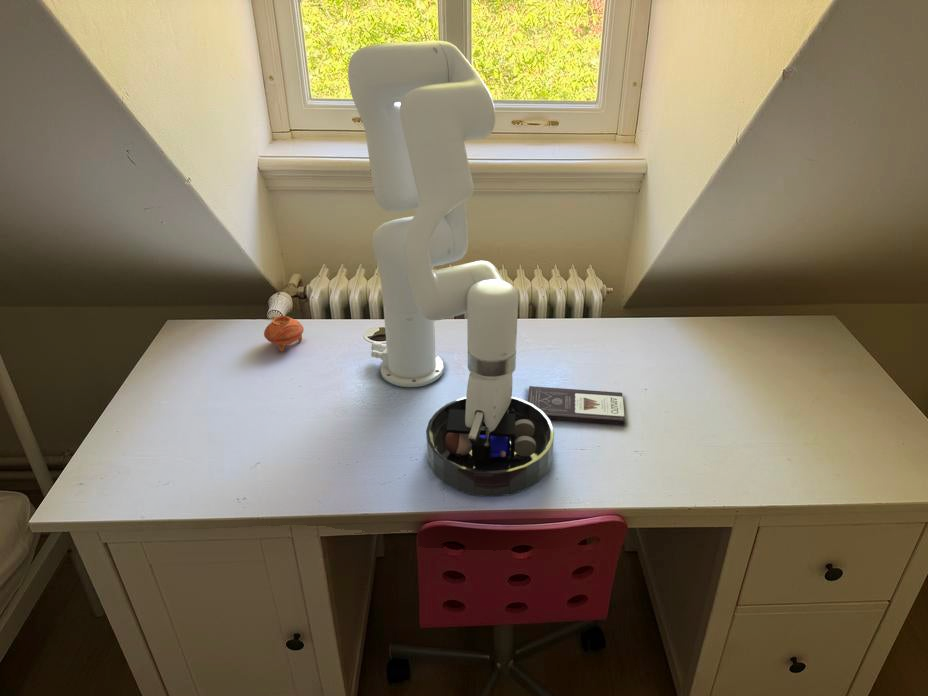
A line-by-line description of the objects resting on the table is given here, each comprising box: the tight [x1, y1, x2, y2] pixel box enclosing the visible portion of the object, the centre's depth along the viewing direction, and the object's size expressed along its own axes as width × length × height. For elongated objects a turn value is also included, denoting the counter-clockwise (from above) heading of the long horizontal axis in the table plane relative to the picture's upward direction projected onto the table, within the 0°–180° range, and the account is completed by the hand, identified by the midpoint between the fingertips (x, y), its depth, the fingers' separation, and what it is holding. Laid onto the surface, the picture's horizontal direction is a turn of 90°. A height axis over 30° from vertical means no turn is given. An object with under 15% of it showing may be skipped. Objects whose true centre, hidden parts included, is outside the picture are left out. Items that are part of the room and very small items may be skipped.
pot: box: [263, 315, 305, 353], centre depth 144 cm, size 8×8×7 cm
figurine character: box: [445, 409, 536, 460], centre depth 116 cm, size 7×8×15 cm
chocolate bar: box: [527, 385, 626, 426], centre depth 130 cm, size 9×1×18 cm
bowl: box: [425, 396, 555, 497], centre depth 117 cm, size 21×21×6 cm
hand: (490, 446), depth 117 cm, fingers closed on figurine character, 7 cm apart
